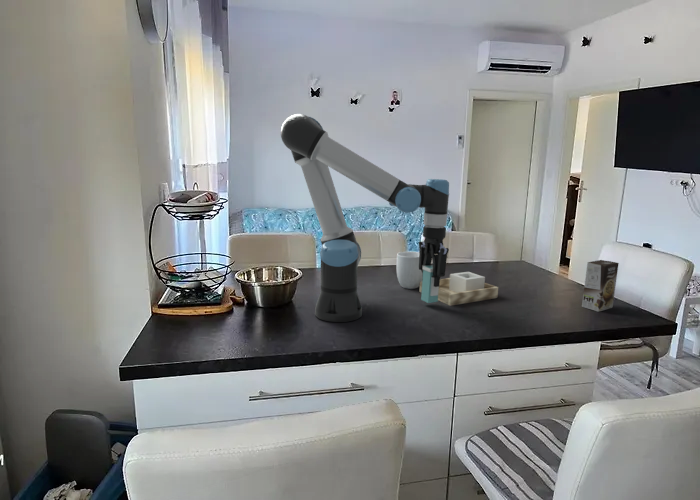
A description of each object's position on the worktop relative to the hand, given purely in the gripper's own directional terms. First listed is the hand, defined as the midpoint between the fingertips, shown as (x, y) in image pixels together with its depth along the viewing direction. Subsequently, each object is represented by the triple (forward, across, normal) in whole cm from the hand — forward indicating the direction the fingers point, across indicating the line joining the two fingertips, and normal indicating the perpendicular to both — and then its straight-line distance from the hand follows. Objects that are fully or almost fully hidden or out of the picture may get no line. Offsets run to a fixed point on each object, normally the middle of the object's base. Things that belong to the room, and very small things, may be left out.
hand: (429, 293), depth 162 cm
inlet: (+3, +6, -21) cm, 22 cm away
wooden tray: (+4, +6, -18) cm, 19 cm away
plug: (+3, 0, 0) cm, 3 cm away
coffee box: (+3, -26, -52) cm, 59 cm away
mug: (+5, +23, -8) cm, 25 cm away
